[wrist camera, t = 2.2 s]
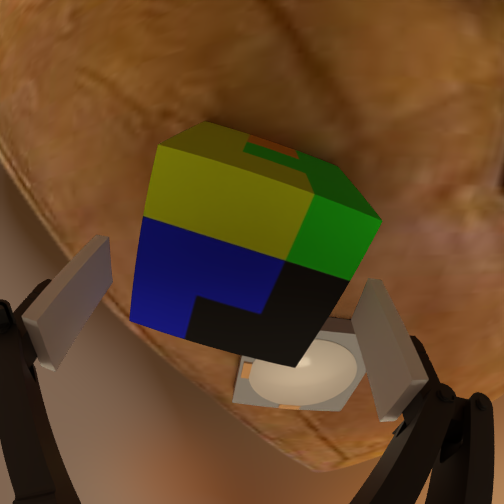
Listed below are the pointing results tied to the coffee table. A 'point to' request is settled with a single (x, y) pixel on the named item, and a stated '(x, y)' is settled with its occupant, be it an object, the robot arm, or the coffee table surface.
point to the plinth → (306, 374)
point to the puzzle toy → (246, 243)
